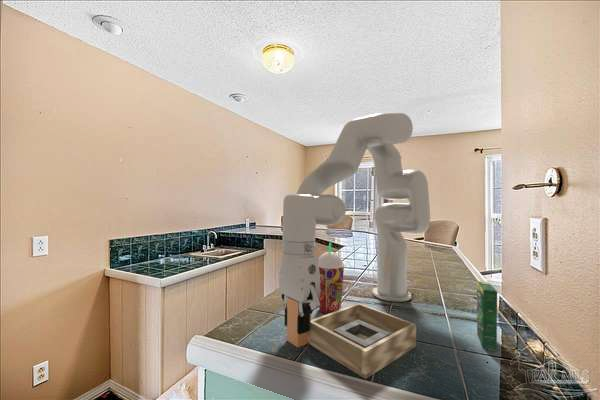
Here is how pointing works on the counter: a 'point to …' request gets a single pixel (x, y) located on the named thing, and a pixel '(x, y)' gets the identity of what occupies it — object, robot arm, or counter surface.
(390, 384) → the counter surface
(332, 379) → the counter surface
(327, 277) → the smoothie
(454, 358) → the counter surface
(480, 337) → the coffee box
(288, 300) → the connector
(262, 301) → the counter surface
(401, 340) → the walled tray
